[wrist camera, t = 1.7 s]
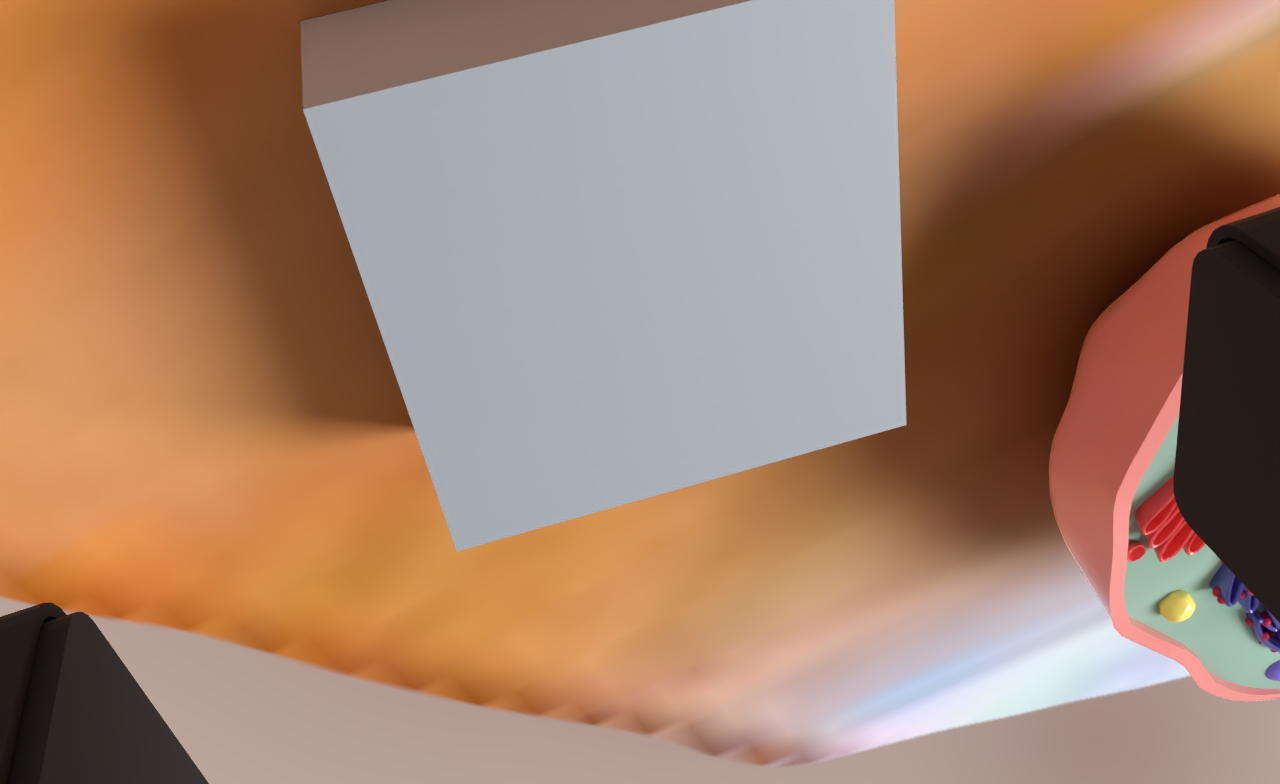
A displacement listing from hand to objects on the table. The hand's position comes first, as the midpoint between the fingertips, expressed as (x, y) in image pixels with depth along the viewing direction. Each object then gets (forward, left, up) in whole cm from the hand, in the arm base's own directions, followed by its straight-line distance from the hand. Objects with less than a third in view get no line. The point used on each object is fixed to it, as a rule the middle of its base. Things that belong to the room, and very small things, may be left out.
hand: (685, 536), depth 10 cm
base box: (+9, +3, -24) cm, 25 cm away
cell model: (+21, +23, -24) cm, 39 cm away
